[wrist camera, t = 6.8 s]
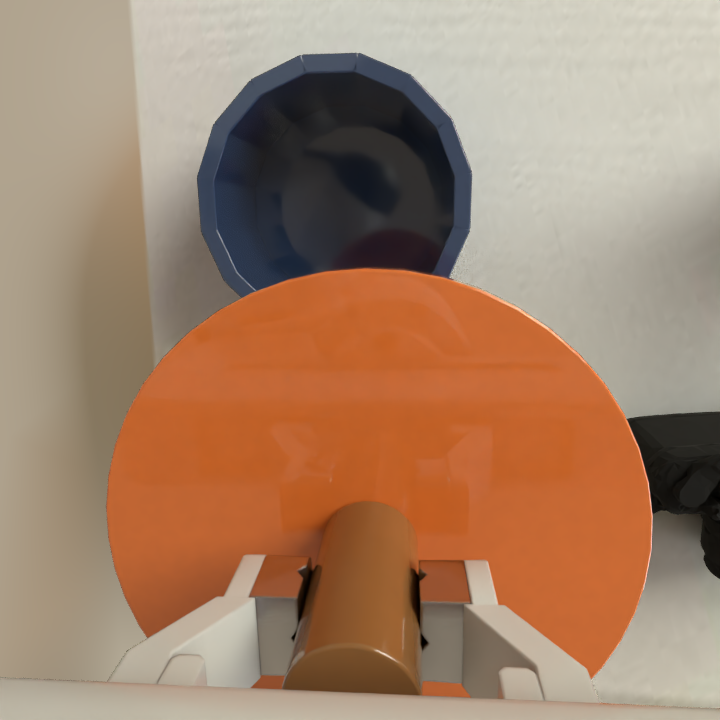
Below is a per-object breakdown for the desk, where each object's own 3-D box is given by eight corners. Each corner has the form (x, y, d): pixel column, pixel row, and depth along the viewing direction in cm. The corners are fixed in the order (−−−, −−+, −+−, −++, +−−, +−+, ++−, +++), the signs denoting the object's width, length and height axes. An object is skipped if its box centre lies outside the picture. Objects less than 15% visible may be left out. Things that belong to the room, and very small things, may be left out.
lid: (154, 717, 18) (25, 971, 12) (97, 268, 15) (-119, 303, 9) (612, 739, 17) (728, 1031, 11) (659, 259, 14) (862, 292, 8)
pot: (251, 310, 37) (208, 337, 29) (238, 96, 34) (187, 57, 26) (451, 310, 36) (467, 338, 28) (457, 90, 33) (476, 48, 25)
